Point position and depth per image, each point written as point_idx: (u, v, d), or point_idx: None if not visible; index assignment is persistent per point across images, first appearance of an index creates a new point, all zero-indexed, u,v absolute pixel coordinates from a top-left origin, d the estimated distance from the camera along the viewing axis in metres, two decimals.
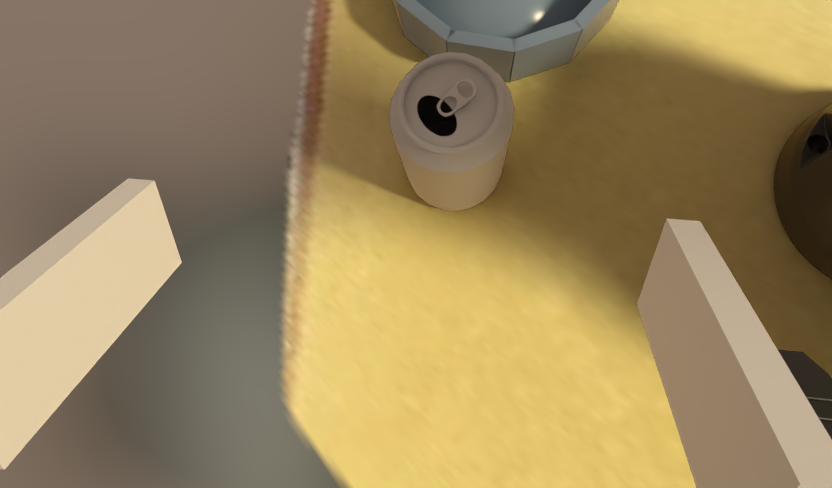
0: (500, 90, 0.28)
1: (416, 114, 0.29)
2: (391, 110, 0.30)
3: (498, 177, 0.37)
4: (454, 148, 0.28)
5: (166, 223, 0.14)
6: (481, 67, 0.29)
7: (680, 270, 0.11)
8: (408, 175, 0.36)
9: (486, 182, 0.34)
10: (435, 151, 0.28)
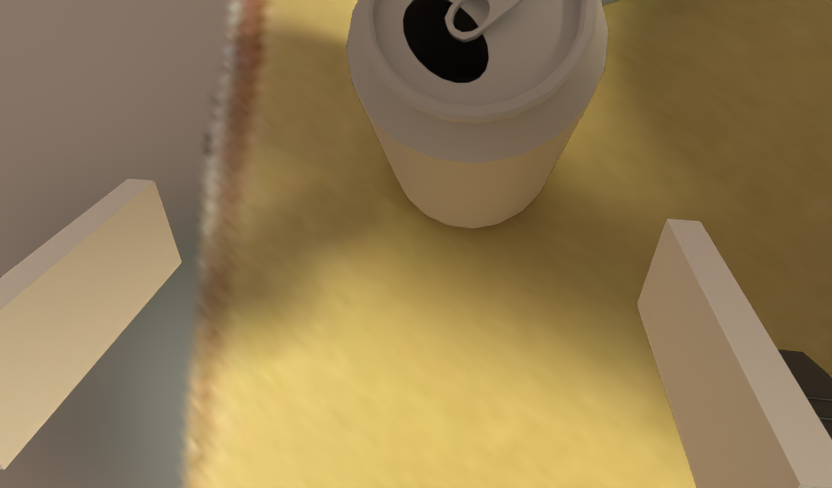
0: None
1: (400, 35, 0.14)
2: (351, 33, 0.15)
3: None
4: (483, 108, 0.13)
5: (166, 223, 0.14)
6: None
7: (679, 270, 0.11)
8: (392, 167, 0.21)
9: (534, 182, 0.18)
10: (441, 114, 0.13)
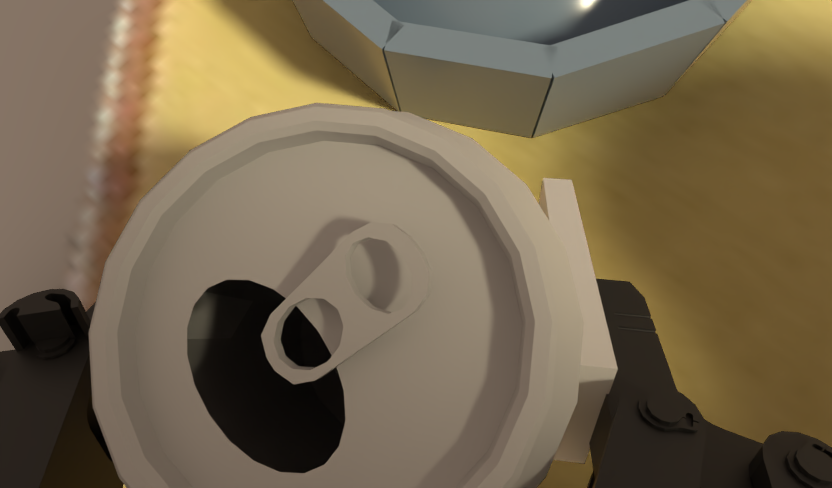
0: (535, 283, 0.06)
1: (180, 359, 0.07)
2: None
3: None
4: None
5: None
6: (452, 172, 0.07)
7: None
8: (279, 395, 0.14)
9: None
10: None
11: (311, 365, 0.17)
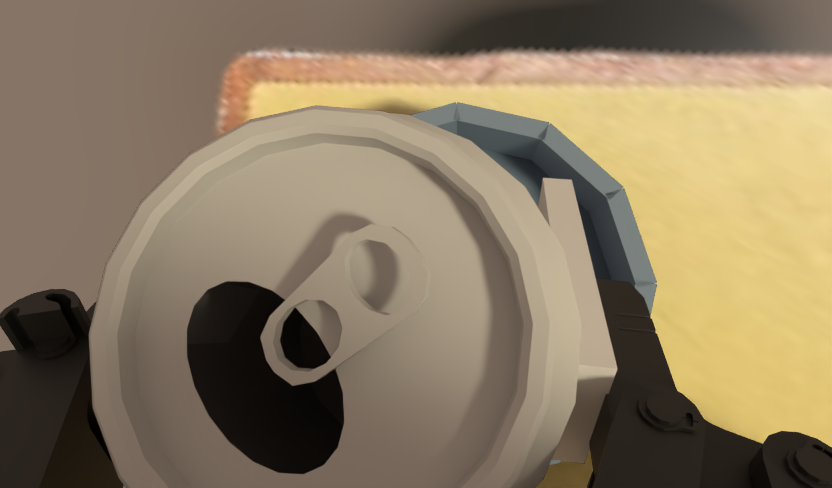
0: (533, 285, 0.06)
1: (180, 360, 0.07)
2: None
3: None
4: None
5: None
6: (450, 175, 0.07)
7: None
8: (278, 396, 0.14)
9: None
10: None
11: (311, 366, 0.17)
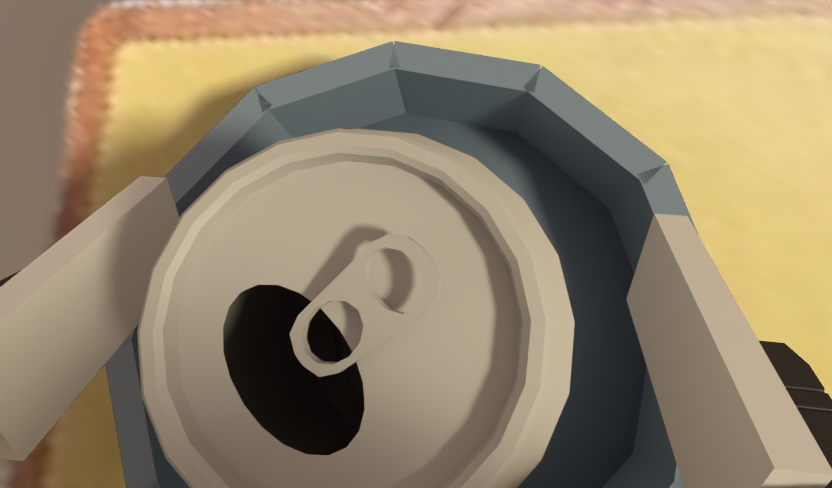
0: (531, 288, 0.07)
1: (217, 355, 0.08)
2: None
3: None
4: None
5: (177, 220, 0.14)
6: (458, 190, 0.08)
7: (666, 263, 0.11)
8: (291, 393, 0.15)
9: None
10: None
11: None
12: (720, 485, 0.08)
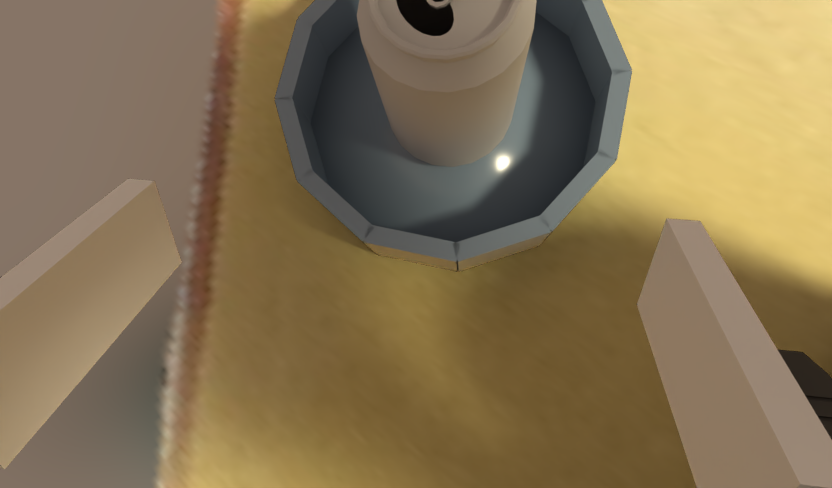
0: None
1: (394, 5, 0.20)
2: (360, 5, 0.21)
3: (508, 119, 0.28)
4: (450, 50, 0.19)
5: (166, 223, 0.14)
6: None
7: (679, 270, 0.11)
8: (389, 115, 0.27)
9: (494, 119, 0.25)
10: (422, 55, 0.19)
11: None
12: None
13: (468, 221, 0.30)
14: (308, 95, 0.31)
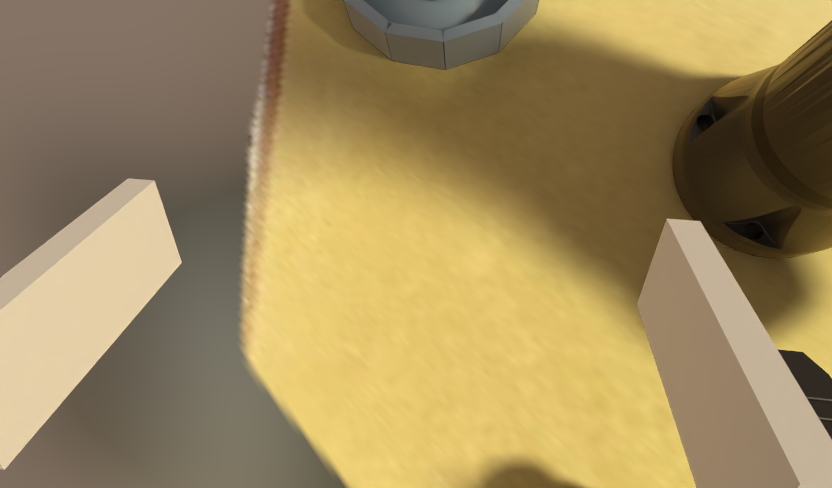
0: None
1: None
2: None
3: None
4: None
5: (166, 223, 0.14)
6: None
7: (680, 270, 0.11)
8: None
9: None
10: None
11: None
12: None
13: None
14: None
